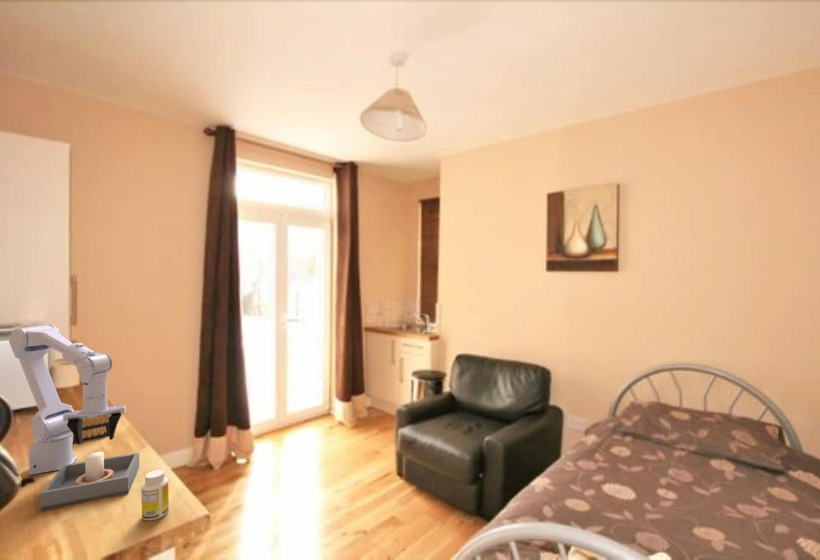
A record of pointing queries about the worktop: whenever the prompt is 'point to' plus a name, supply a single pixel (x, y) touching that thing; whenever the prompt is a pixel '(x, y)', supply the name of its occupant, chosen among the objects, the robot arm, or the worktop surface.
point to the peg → (94, 466)
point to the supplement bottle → (154, 495)
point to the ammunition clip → (94, 428)
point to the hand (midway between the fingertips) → (96, 440)
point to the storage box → (75, 489)
